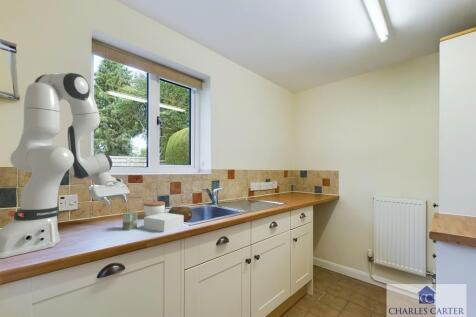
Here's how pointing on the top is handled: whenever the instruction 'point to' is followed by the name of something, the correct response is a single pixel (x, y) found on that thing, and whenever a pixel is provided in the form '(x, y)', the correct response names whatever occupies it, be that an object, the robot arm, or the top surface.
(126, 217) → the sage block
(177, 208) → the brown rounded slab
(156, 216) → the white square box
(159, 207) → the lidded bowl
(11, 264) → the top surface
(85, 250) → the top surface
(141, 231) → the top surface
